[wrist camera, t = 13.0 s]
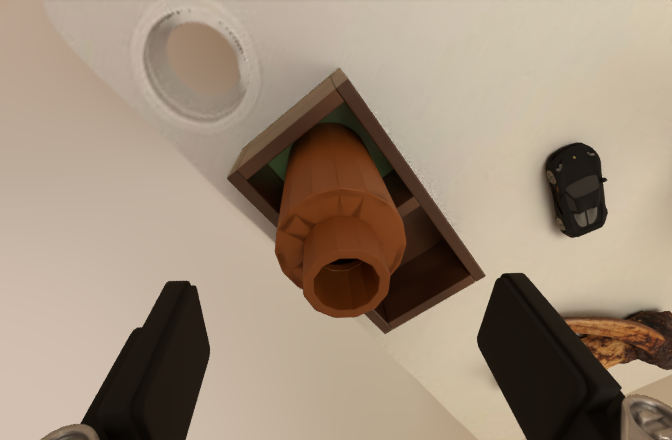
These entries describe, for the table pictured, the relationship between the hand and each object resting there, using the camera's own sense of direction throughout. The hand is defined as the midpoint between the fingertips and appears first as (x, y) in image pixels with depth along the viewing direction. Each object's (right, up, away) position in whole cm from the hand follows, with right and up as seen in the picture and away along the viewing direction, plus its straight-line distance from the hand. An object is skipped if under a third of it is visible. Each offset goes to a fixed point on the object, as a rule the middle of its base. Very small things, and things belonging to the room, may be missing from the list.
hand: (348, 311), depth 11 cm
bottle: (-1, +7, +14) cm, 15 cm away
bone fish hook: (+24, -9, +26) cm, 36 cm away
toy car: (+18, +6, +17) cm, 26 cm away
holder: (+1, +5, +16) cm, 17 cm away
